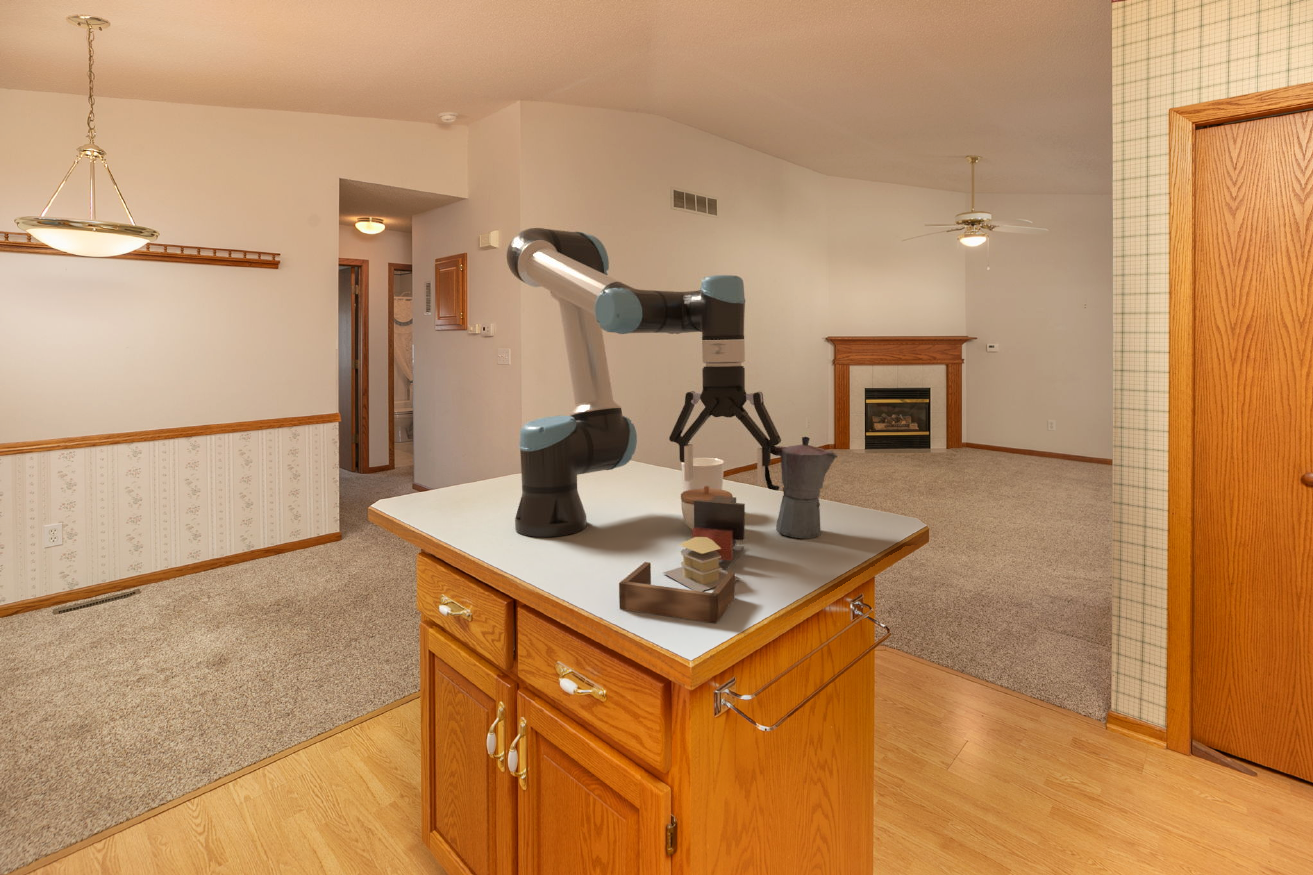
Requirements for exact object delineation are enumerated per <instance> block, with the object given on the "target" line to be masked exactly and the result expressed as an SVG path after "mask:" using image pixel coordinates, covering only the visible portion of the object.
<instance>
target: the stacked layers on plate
mask: <svg viewBox="0 0 1313 875" xmlns="http://www.w3.org/2000/svg"><path fill="white" fill-rule="evenodd" d="M680 546H681V547H682V548H684V549H682V550H680V555H682V561H681V563H680V565H681V567H677V568H674V569H670V570H667V571H663V572H662V574H664V575H666V576H668V577H670V578H671V579H673V580H675V581H677V582H678V583H680V584H682V585H684V586H685V587H687V588H689V589H690V590H693V591H701V592H705V591H707V590H709V589H713V588H716V587H717V586H718V585H719V583H720V582H721V581H722V580H723V578H724V577H725V576H726V575H727V573H728V572H729V571H727V570H726V569H722V568H721V567H720V566H719V558H721V555H720V554H719V553H718V552H717V551H716V550H718V549H721V548H720V547H719V546H718V545H717V544H716V543H715V542H714V541H712V540H711V539H709V538H707V537H694V538H689V539H687V540H685V541H683V542H682V543H680ZM741 579H742V578H741V577H739V576H737V575H735V581H738V580H741Z"/></svg>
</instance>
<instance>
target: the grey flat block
mask: <svg viewBox="0 0 1313 875" xmlns="http://www.w3.org/2000/svg"><path fill="white" fill-rule="evenodd" d="M744 550H745V546H741V545H735V546H734V547H733V559H732V560H731V561H730V560H721V559H719V566H720V567H721V569H723V570H728V569H729V568H730V567H731V566H732V564H733V563H734V562H735V561H736V559H737V558H738V557H739V556H740V555H741V554H742V552H743V551H744Z"/></svg>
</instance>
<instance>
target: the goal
mask: <svg viewBox="0 0 1313 875" xmlns="http://www.w3.org/2000/svg"><path fill="white" fill-rule="evenodd" d="M651 563H652V562H649V561H644V562H643V563H642V564H640V565H639V566H638V567H637V568H636V569H634V570H633V571H632V572H631V573H630V574H628V575H627V576H626V577H624V578H623V579H622V580H621V581H620V582H619V583H618V593H619V594H618V595H619V596H618V600H619V604H618V605H619V609H620V610H625V611H631V612H633V611H634V612H638V613H639V612H640V613H645V614H651V615H656V616H657V615H659V616H666V617H671V618H677V619H685V620H692V621H697V622H705V623H711V624H717V623H718V622H719V620H720V619H721V618H722V616H723V615H724V613H725V612H726V611H727V609H728V608H729V606H730V605H731V604H732V602H733V601H734V600H735V598H736V595H735V594H736V580H735V576H736V573H735V572H731V571H727V572H728V573H727V575H726V576H725V577H724V578H723V580H722V581H721V582H720V583H719V585H718V586H716V587H714V590H713V591H712V592H709V591H707V592H706V591H694V590H692V589H685V588H684V589H683V588H679V587H672V586H671V587H670V586H665V585H664V586H662V585H655V584H652V574H651V572H652V570H651V569H652V566H651Z"/></svg>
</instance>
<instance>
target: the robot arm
mask: <svg viewBox="0 0 1313 875" xmlns="http://www.w3.org/2000/svg"><path fill="white" fill-rule="evenodd" d="M609 260H610V259H609V256H608V252H607V250H606V248H605V245H604V244H603V243H602V241H601V240H600V239H599V238H598V237H597V236H595V235H592V234H588V233H584V232H582V231H569V230H560V229H559V230H558V229H550V228H544V227H532V228H531V227H530V228H527V229H525V230H521V231H520V232H518V233H517V234H516V235H515V236H513V238H512V239H511V240H510V242H509V244H508V247H507V251H506V262H507V263H506V264H507V266H508V269H509V270H510V272H511V273H512V275H513V276H514V277H515V278H517V279H518V280H519V281H521V282H522V283H524V284H526V285H528V286H530V287H533V288H538V287H539V288H541V287H542V288H544V289H546V290H547V291H549V292H550V296H551V298H553V299H555V300H556V301H557V302H558V304H559V310H560V311H559V312H560V317H561V323H562V328H563V335H564V341H565V342H564V343H565V347H566V348H565V349H566V354H567V362H568V367H569V374H570V379H571V387H572V392H573V399H574V405H575V406H574V408H573V409H572V411H571V412H570V414H569V415H554V416H546V417H541V418H536V419H533V420H530V421H528V422H526V423H525V424H524V425H522V426H521V428H520V432H519V433H520V434H519V444H518V445H519V450H520V452H519V453H520V469H521V470H520V472H521V474H520V475H521V497H520V500H519V504H518V507H517V512H516V514H515V518H514V525H515V526H514V528H515V531H516V532H517V533H518V534H520V535H524V536H529V537H537V538H538V537H540V538H541V537H542V538H545V537H546V538H547V537H548V538H549V537H550V538H552V537H561V536H568V535H572V534H575V533H579V532H580V531H583V530H585V529H586V527H587V513H586V511H585V508H584V505H583V503H582V500H581V497H580V494H579V490H578V476H579V475H585V474H591V473H596V472H601V471H603V472H604V471H609V470H614V469H617V468H621V467H623V466H625V465H627V464H628V463H629V462H630V461H631V460H632V458H633V456H634V454H635V452H636V449H637V443H638V434H637V429H636V427H635V424H634V423H632V420H631V419H630V418H629V417H627V416H625V415H623V411H622V406H621V405H620V404H618V403H617V402H615V400H614V398H613V396H614V395H613V390H612V383H611V378H610V372H609V366H608V359H607V352H606V346H605V342H604V334H603V332H604V331H605V332H607V333H615V334H619V335H627V334H653V333H655V334H658V333H659V334H664V333H665V334H671V335H673V334H676V335H678V334H685V333H698V332H699V333H701V340H702V341H701V347H702V348H701V349H702V353H701V354H702V355H701V356H702V363H703V364H705V366H703V368H702V374H701V375H702V391H701V393H700V392H696V391H693V390H691V391H688V392H686V393H685V395H684V396H685V397H684V404H683V407H682V409H681V411H680V414H679V416H678V418H677V420H676V423H675V425H674V426H673V428H672V431H671V432H670V435H669V437H668V438H669V441H670V442H671V443H675V444H677V445H678V448H679V461H680V463H681V462H684V467H685V481H690V480H692V479H693V458H694V450H693V449H694V447H693V446H694V445H693V443H692V444H691V443H690V441H692V439H693V438H694V437H695V435H696V434H697V432H698V431H699V430H700V429H701V428H702V427H703V426H704V424H705V423H706V421H708V419H709V418H710V417H711V416H712V417H713V418H720V417H723V418H724V417H725V418H733V417H736V419H737V420H738V421H740V422H741V424H742V425H743V426H744V427H745V428H746V429H747V432H749V433H750V434H751V436H752V437H753V438H754V439H755V440H756V442H757V443H758V444H759V445H760V447H758V448H757V450H756V452H757V454H756V455H757V456H756V457H757V458H756V460H757V461H756V462H757V463H756V465H757V466H756V467H757V469H756V471H757V473H756V474H757V478H756V480H757V481H756V482H757V484H756V485H757V486H763V485H764V484H765V482H766V480H765V466H768V467H769V466H770V464H771V459H772V457H771V455H772V454H771V447H772V446H778V445H779V444H781V442H782V438H781V436H780V434H779V431H778V430H777V428H776V426H775V424H774V422H773V419H772V418H771V415H770V414H769V411H768V409H767V407H766V405H765V404H764V394H763V392H762V391H756V392H754V393H753V392H752V393H747V392H746V386H745V385H746V382H745V381H746V379H745V378H746V377H745V376H746V374H745V373H746V371H745V367H744V366H743V365H742V363H743V364H744V362H745V361H746V360H745V359H746V358H745V357H746V355H745V354H746V352H745V349H746V347H745V344H746V343H745V312H746V311H745V310H746V308H745V307H746V298H745V296H746V295H745V287H744V286H745V285H744V280H743V278H741V277H740V276H738V275H733V274H732V275H731V274H724V275H723V274H721V275H718V274H717V275H709V276H706V277H705V276H704V277H703V278H702V279H701V286H700V288H699V290H689V291H673V290H672V291H671V290H653V289H651V290H650V289H648V290H647V289H639V288H634V287H631V286H630V285H627V284H626V283H623V282H622V281H619V280H618V279H616V278H614V277H611V276H609V275H608V271H609V269H610V261H609ZM699 400H700V402H701V403H702V404H703V406H704V408H703V409H702V411H701V412H700V413H699V415H698V416H697V418H696V419H695V420H694V421H693V423H692V424H691V425H690V426H689V427H688V429H687V430H686V431H685V432H683V431H684V429H685V427H686V425H687V423H688V421H689V419H690V416H691V415H692V412H693V410H694V407H695V405H697V404H698V402H699ZM747 401H749V404H751V406H753V407H754V409H755V412H756V413H757V415H758V418H759V420H760V421H761V424H762V426H763V428H764V430H765V433H766V434H767V435H766V434H765V433H764V431H763V430H762V429H761V428H760V426H758V424H757V423H756V422H755V421H754V419H753V418H752V417H751V416H750V415H749V413H748V411H747V410H746V409H745V407H744V406H745V404H746V402H747ZM682 434H683V435H682ZM767 436H768V437H767Z"/></svg>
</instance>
